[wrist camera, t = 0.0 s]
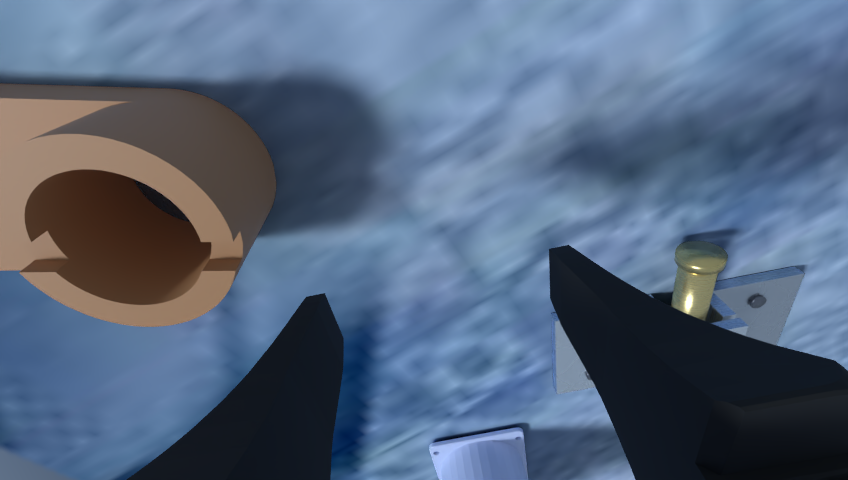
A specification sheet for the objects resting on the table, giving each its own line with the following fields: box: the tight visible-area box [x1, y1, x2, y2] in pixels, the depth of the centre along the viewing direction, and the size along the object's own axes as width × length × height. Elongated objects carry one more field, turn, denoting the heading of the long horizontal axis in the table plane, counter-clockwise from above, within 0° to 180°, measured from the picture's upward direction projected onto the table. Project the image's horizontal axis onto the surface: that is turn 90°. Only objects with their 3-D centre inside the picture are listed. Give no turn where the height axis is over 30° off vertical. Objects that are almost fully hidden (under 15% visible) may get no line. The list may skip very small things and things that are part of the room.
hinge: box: [551, 266, 805, 394], centre depth 28 cm, size 8×16×4 cm, turn 101°
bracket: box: [0, 83, 276, 327], centre depth 18 cm, size 18×8×7 cm, turn 87°
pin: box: [671, 241, 728, 321], centre depth 26 cm, size 9×2×2 cm, turn 11°
